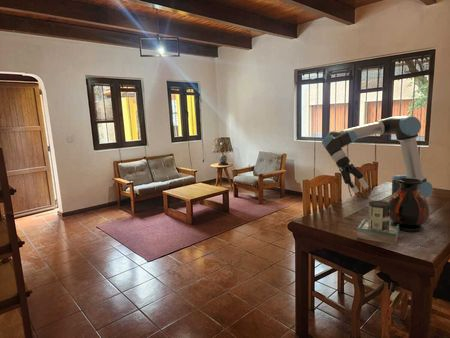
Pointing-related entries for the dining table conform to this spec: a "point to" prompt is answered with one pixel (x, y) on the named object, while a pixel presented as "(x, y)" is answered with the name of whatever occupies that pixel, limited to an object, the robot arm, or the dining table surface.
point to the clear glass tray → (378, 233)
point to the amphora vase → (409, 206)
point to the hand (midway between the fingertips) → (362, 190)
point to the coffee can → (379, 215)
